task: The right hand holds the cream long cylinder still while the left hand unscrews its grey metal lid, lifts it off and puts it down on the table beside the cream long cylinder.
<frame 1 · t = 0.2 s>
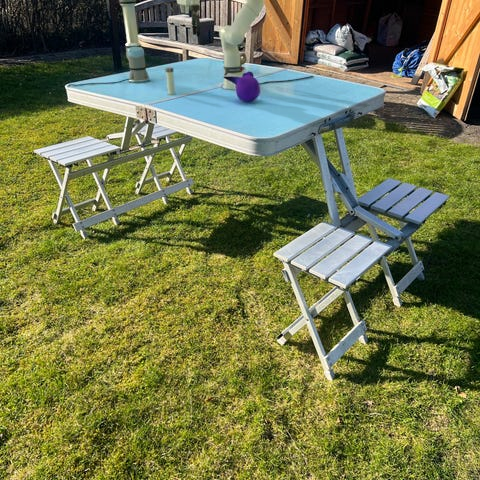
left hand: (196, 35, 349), 28 cm above the table, tool pointing down, fingers open, 13 cm apart
right hand: (184, 13, 280), 48 cm above the table, tool pointing down, fingers open, 8 cm apart
cream long cylinder: (171, 94, 300), on the table
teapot: (235, 70, 371), on the table
toy: (243, 100, 281), on the table
lid: (169, 68, 292), point 16 cm above the table, screwed on, not yet turned
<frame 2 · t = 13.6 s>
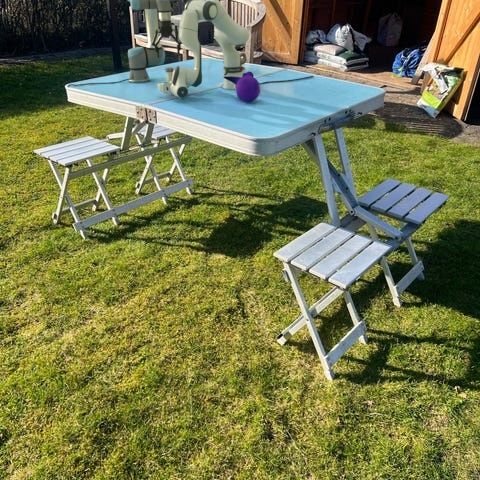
left hand: (168, 56, 289), 23 cm above the table, tool pointing down, fingers open, 13 cm apart
right hand: (170, 83, 297), 7 cm above the table, tool horizontal, fingers closed on cream long cylinder, 4 cm apart
cream long cylinder: (171, 94, 300), on the table, touching right hand
everything else where it was.
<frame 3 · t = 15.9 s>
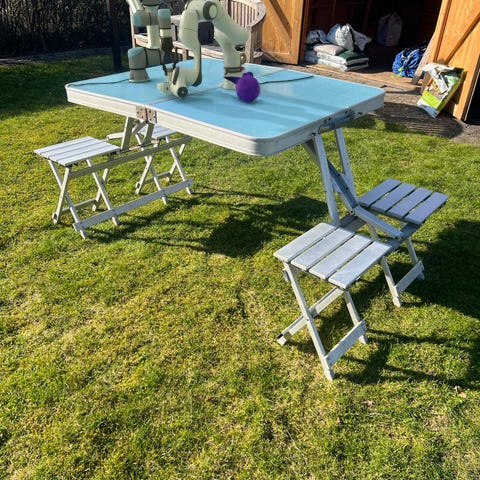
left hand: (169, 75, 294), 12 cm above the table, tool pointing down, fingers closed on lid, 5 cm apart
right hand: (170, 83, 297), 7 cm above the table, tool horizontal, fingers closed on cream long cylinder, 4 cm apart
cream long cylinder: (171, 94, 300), on the table, touching right hand
lid: (169, 68, 292), point 16 cm above the table, screwed on, not yet turned, touching left hand
everything else where it was.
when the left hand's fingers open (0 cm above the table, at t = 24.7 s): lid drops 2 cm, point 2 cm above the table.
when the right hand's fingers open (7 cm above the table, at t = 26.4 s): cream long cylinder stays where it is, on the table.
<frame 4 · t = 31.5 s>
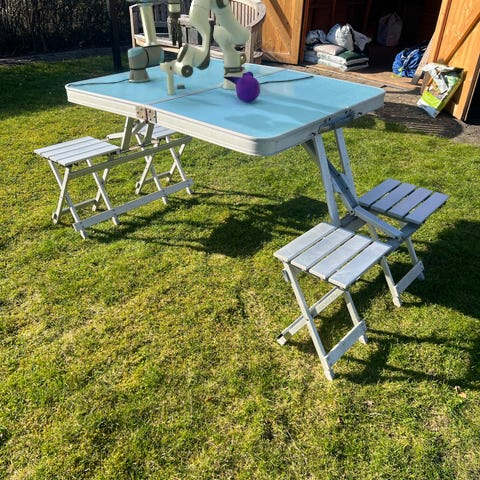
left hand: (177, 47, 302), 27 cm above the table, tool pointing down, fingers open, 13 cm apart
right hand: (173, 63, 279), 21 cm above the table, tool horizontal, fingers open, 8 cm apart
cream long cylinder: (171, 94, 300), on the table
lid: (180, 85, 314), point 2 cm above the table, off its thread
everything else where it was.
at the end: lid came off its thread; lid point 1.9 cm above the table; the left hand is holding nothing; the right hand is holding nothing; cream long cylinder tilted 0°; cream long cylinder moved 0.1 cm from its start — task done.
